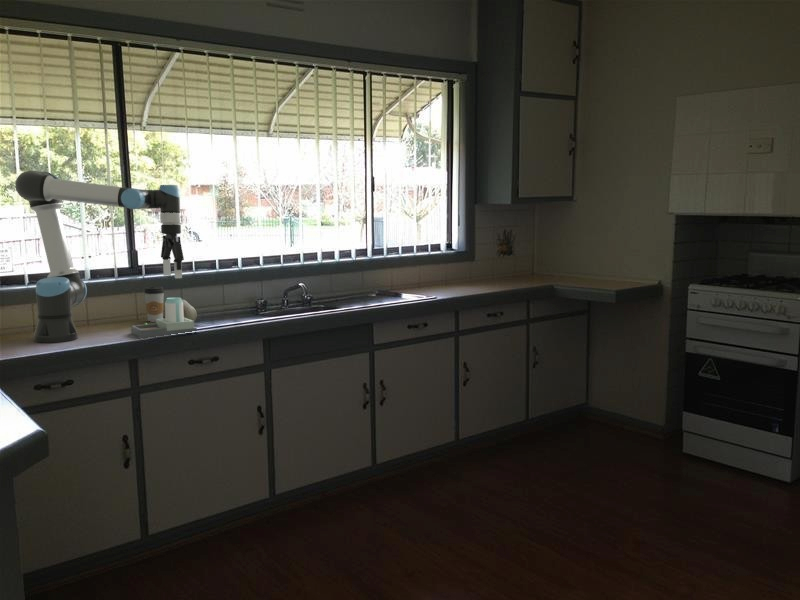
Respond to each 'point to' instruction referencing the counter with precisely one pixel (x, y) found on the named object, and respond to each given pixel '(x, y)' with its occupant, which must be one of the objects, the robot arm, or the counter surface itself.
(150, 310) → the coffee cup
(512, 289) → the counter surface
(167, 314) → the can
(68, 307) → the robot arm
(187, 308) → the fruit
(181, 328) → the grey tray
